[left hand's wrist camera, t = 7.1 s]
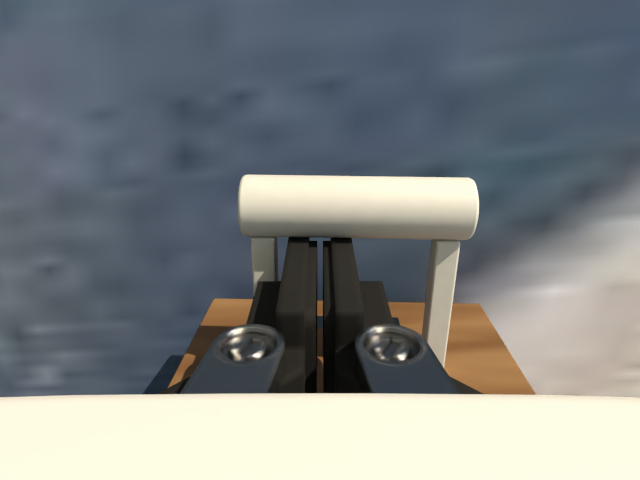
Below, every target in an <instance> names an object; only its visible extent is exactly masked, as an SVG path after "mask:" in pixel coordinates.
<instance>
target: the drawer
mask: <svg viewBox="0 0 640 480" xmlns="http://www.w3.org/2000/svg"><path fill="white" fill-rule="evenodd" d="M478 214H479V198H478V191H477V187H476V184H475V182H474V181H473V180H472V179H470V178H447V177H375V176H303V175H244V176H243V177H242V179H241V181H240V185H239V190H238V221H239V226H240V230H241V232H242V234H243V235H245V236H252V238H251V250H252V269H253V289H254V294H255V291H256V287H257V284H258V282H259V281H279V278H278V243H277V237H327V238H385V239H432V241H431V250H430V260H429V269H428V279H427V288H426V298H425V303H411V302H388V305H389V308H390V312H391V315H392V319H393V322H394V325H400V326H404V327H407V328H410V329H412V330H414V331H416V332H417V333H419V334H421V335H422V337H423V338H424V339H425V340H426V341H427V343H428V344H429V346H430V347H431V349H432V350H433V352H434V353H435V355H436V357H437V358H438V360H439V361H440V363H441V364H442V366H443V367H444V369H445V371H446V372H447V374H448V375H449V376H450V377H452V378H454V379H456V380H458V381H460V382H462V383H464V384H466V385H468V386H469V387H471V388H473V389H475V390H477V391H479V392H481V393H483V394H499V395H536V394H535V392H534V391H533V389H532V387H531V386H530V384H529V383H528V381H527V379H526V378H525V376H524V375H523V373H522V371H521V370H520V368H519V367H518V365H517V363H516V362H515V360H514V359H513V357H512V355H511V354H510V352H509V350H508V349H507V347H506V346H505V344H504V342H503V341H502V339H501V338H500V336H499V334H498V333H497V331H496V330H495V328H494V326H493V325H492V323H491V322H490V320H489V318H488V317H487V315H486V313H485V312H484V310H483V309H482V307H481V305H480V304H460V303H453V295H454V287H455V280H456V272H457V264H458V257H459V249H460V242H459V240H467V239H469V238H471V237H472V235H473V234H474V232H475V229H476V225H477V221H478ZM252 301H253V299H213V301H212V303H211V305H210V307H209V309H208V311H207V313H206V315H205V317H204V318H203V320H202V322H201V324H200V326H199V328H198V330H197V332H196V334H195V336H194V338H193V340H192V342H191V343H190V345H189V347H188V349H187V351H186V353H185V355H184V357H183V359H182V361H181V363H180V365H179V367H178V368H177V370H176V372H175V374H174V376H173V378H172V380H171V382H170V384H169V386H168V388H169V387H171V386H173V385H174V384H176V383H178V382H180V381H182V380H184V379H186V378H188V377H190V376H191V375H192V374H193V372H194V371H195V369H196V367H197V366H198V364H199V363H200V361H201V360H202V358H203V357H204V355H205V353H206V352H207V350H208V349H209V347H210V346H211V344H212V343H213V341H214V340H215V339H216V338H217V337H218V335H219V334H221V333H223V332H224V331H226V330H228V329H230V328H233V327H236V326H240V325H246V323H247V319H248V316H249V312H250V309H251V305H252ZM317 393H323V301H317Z"/></svg>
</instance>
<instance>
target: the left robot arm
mask: <svg viewBox="0 0 640 480" xmlns="http://www.w3.org/2000/svg"><path fill="white" fill-rule="evenodd" d="M0 480H640V398H639V397H608V396H571V395H499V394H483V393H481V392H479V391H477V390H475V389H473V388H471V387H469V386H468V385H466V384H464V383H462V382H460V381H458V380H456V379H454V378H452V377H450V376H449V375H448V374H447V372H446V371H445V369H444V367H443V366H442V364H441V363H440V361H439V360H438V358H437V357H436V355H435V353H434V352H433V350H432V349H431V347H430V346H429V344H428V343H427V341H426V340H425V339H424V338H423V337H422V335H421V334H419V333H417V332H416V331H414V330H412V329H410V328H407V327H404V326H400V325H394V322H393V319H392V315H391V312H390V308H389V305H388V301H387V298H386V294H385V291H384V287H383V284H382V281H359V278H358V273H357V267H356V262H355V256H354V250H353V245H352V239H351V238H331V241H323V393H317V241H309V237H289V240H288V245H287V251H286V257H285V262H284V268H283V273H282V279H281V281H259V282H258V284H257V287H256V291H255V294H254V298H253V301H252V305H251V309H250V312H249V316H248V319H247V323H246V325H240V326H236V327H233V328H230V329H228V330H226V331H224V332H223V333H221V334H219V335H218V337H217V338H216V339H215V340H214V341H213V343H212V344H211V346H210V347H209V349H208V350H207V352H206V353H205V355H204V357H203V358H202V360H201V361H200V363H199V364H198V366H197V367H196V369H195V371H194V372H193V374H192V375H191V376H190V377H188V378H186V379H184V380H182V381H180V382H178V383H176V384H174V385H173V386H171V387H169V388H167V389H165V390H163V391H161V392H159V393H157V394H143V395H64V396H32V397H1V398H0Z"/></svg>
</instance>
